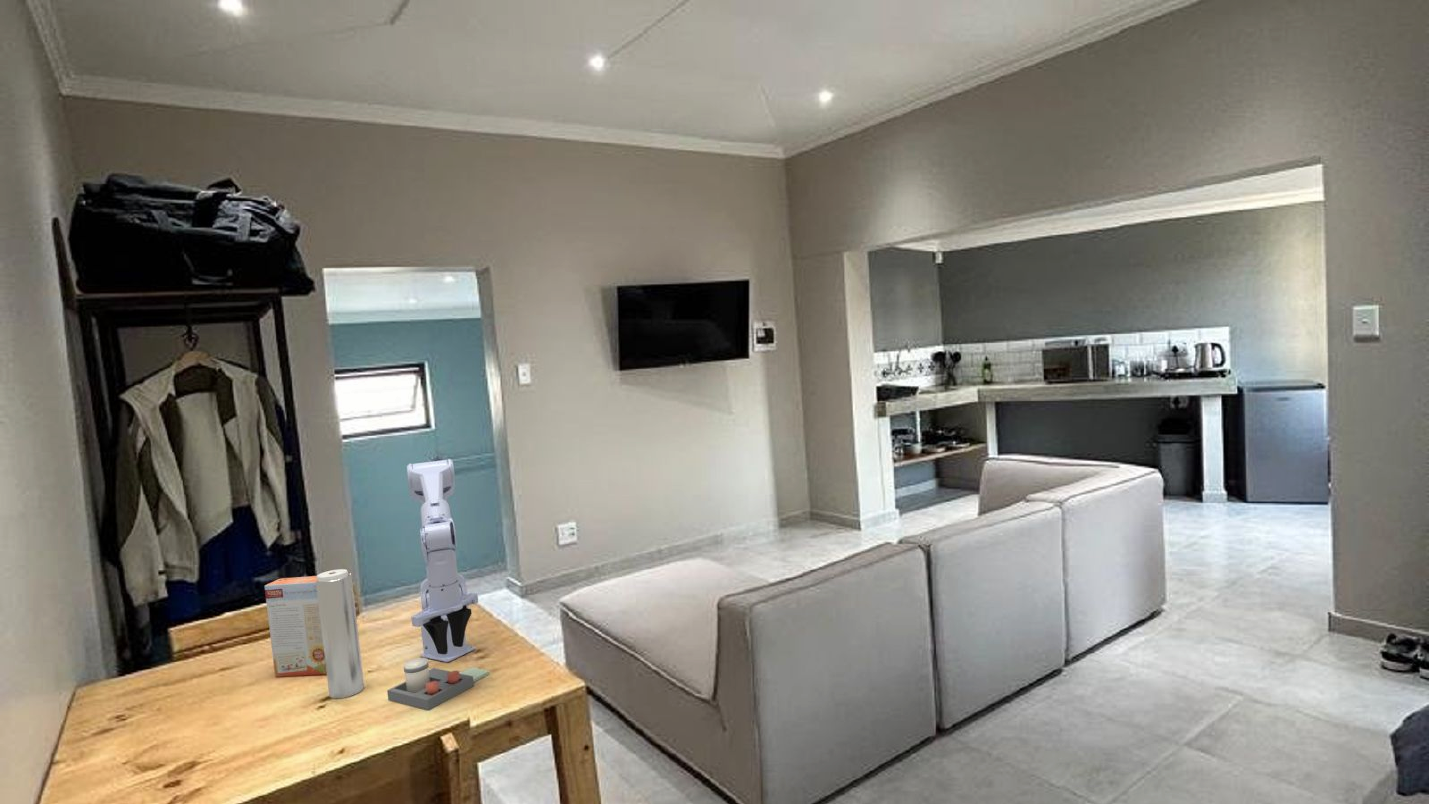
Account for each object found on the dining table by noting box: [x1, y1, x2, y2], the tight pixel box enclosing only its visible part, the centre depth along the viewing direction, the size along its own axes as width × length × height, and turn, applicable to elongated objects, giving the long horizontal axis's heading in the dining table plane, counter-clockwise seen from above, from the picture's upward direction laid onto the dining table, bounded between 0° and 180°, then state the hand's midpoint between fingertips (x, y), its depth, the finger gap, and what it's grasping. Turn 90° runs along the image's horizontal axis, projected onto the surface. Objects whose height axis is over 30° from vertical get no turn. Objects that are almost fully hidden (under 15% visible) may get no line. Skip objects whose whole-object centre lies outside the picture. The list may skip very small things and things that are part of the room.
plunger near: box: [426, 681, 439, 696], centre depth 144 cm, size 2×2×2 cm
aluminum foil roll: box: [316, 568, 365, 700], centre depth 152 cm, size 6×6×25 cm
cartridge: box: [403, 657, 430, 693], centre depth 148 cm, size 5×5×6 cm
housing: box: [386, 667, 475, 711], centre depth 148 cm, size 12×11×2 cm
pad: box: [459, 667, 490, 683], centre depth 155 cm, size 6×5×1 cm
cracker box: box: [264, 575, 327, 678], centre depth 165 cm, size 14×6×21 cm, turn 84°
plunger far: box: [447, 670, 460, 685], centre depth 148 cm, size 2×2×2 cm
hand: (450, 649), depth 148 cm, fingers open, 3 cm apart
